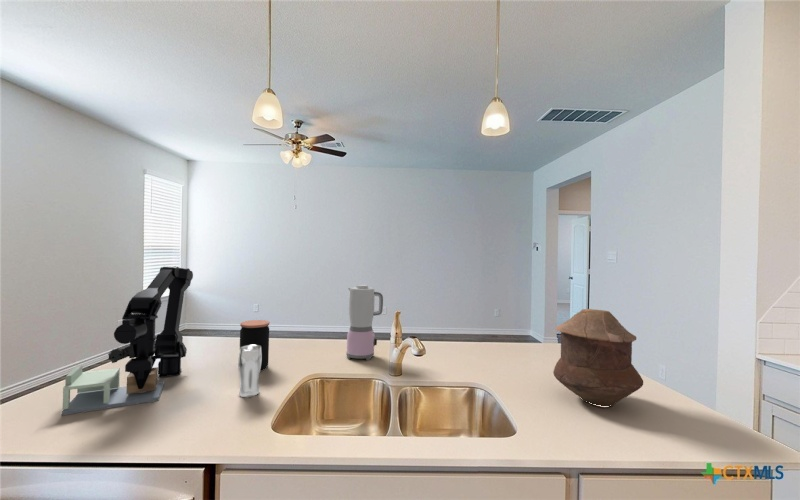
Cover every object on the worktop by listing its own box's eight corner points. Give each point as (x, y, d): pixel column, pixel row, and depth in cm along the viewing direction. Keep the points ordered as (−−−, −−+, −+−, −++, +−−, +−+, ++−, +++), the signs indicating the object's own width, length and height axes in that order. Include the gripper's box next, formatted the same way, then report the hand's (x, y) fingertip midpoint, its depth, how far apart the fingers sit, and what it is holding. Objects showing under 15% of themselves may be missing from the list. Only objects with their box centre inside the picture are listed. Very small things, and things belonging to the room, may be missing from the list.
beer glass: (265, 391, 115) (266, 346, 115) (249, 399, 109) (251, 351, 109) (248, 388, 118) (249, 343, 118) (232, 396, 111) (233, 349, 111)
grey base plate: (163, 384, 119) (164, 372, 119) (158, 400, 106) (158, 387, 106) (78, 395, 108) (79, 383, 108) (61, 415, 96) (62, 400, 96)
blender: (343, 360, 149) (345, 286, 149) (348, 352, 161) (350, 283, 161) (380, 362, 149) (382, 287, 149) (382, 353, 161) (384, 284, 161)
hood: (119, 386, 113) (119, 359, 113) (108, 402, 101) (109, 373, 101) (78, 391, 108) (79, 364, 108) (62, 409, 96) (63, 378, 96)
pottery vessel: (593, 423, 99) (596, 318, 99) (535, 389, 123) (538, 304, 124) (663, 414, 106) (665, 316, 106) (595, 383, 130) (597, 303, 130)
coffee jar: (274, 366, 140) (275, 321, 140) (252, 374, 130) (254, 326, 130) (254, 362, 144) (256, 318, 144) (232, 370, 134) (234, 323, 134)
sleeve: (157, 382, 115) (157, 367, 115) (154, 390, 109) (154, 374, 109) (131, 385, 112) (131, 370, 112) (126, 393, 105) (126, 377, 105)
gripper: (118, 331, 115) (117, 378, 114) (103, 345, 98) (101, 400, 98) (159, 328, 120) (158, 373, 120) (151, 341, 103) (150, 394, 103)
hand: (142, 384), depth 110 cm, fingers closed on sleeve, 7 cm apart
